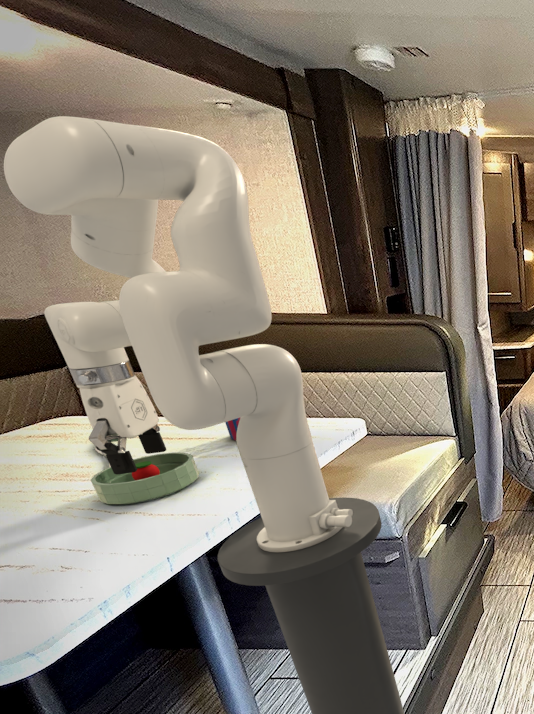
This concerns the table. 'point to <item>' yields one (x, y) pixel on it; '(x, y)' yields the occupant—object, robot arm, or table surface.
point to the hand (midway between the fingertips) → (142, 462)
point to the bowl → (147, 480)
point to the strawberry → (145, 470)
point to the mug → (232, 427)
